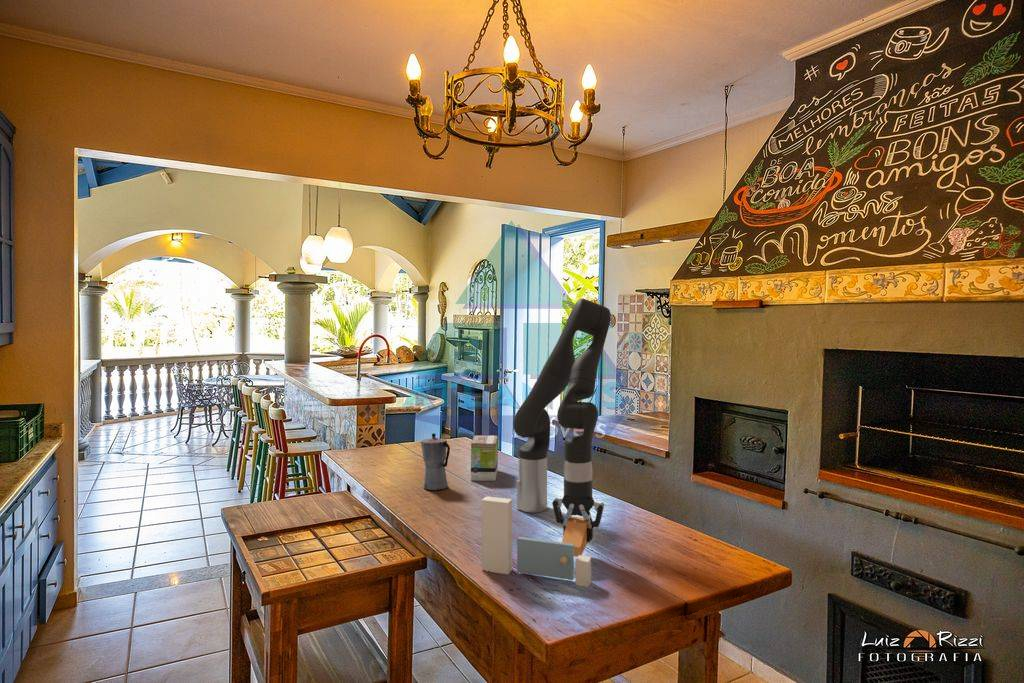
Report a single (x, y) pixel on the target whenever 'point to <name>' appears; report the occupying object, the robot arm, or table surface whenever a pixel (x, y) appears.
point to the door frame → (500, 540)
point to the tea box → (484, 458)
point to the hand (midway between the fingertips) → (578, 539)
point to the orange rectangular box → (576, 534)
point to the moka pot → (435, 462)
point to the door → (545, 558)
